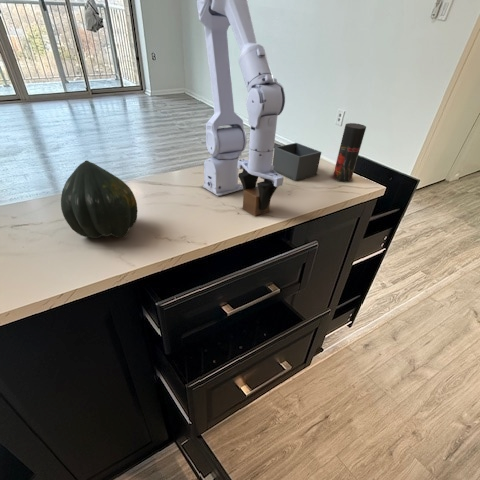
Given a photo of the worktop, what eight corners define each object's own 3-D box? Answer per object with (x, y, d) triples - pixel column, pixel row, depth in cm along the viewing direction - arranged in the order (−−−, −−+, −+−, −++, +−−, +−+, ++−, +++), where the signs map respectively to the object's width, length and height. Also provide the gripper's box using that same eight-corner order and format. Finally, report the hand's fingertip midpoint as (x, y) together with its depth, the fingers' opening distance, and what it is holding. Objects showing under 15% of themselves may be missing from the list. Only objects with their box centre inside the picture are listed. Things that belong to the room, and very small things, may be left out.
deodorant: (353, 182, 101) (368, 129, 91) (334, 181, 101) (348, 127, 91) (348, 175, 105) (363, 123, 95) (331, 174, 105) (343, 122, 95)
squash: (111, 234, 61) (119, 155, 60) (40, 227, 63) (47, 150, 62) (143, 248, 75) (149, 184, 74) (84, 242, 77) (90, 180, 76)
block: (254, 216, 81) (256, 197, 78) (242, 208, 84) (243, 190, 80) (269, 211, 84) (271, 192, 80) (256, 204, 86) (258, 185, 83)
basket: (295, 181, 100) (299, 157, 95) (259, 164, 109) (261, 142, 104) (316, 174, 104) (321, 151, 99) (280, 159, 113) (283, 137, 109)
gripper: (296, 154, 71) (286, 211, 81) (254, 137, 79) (250, 191, 88) (273, 159, 68) (266, 219, 77) (231, 141, 76) (230, 197, 85)
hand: (256, 205), depth 83 cm, fingers closed on block, 5 cm apart
